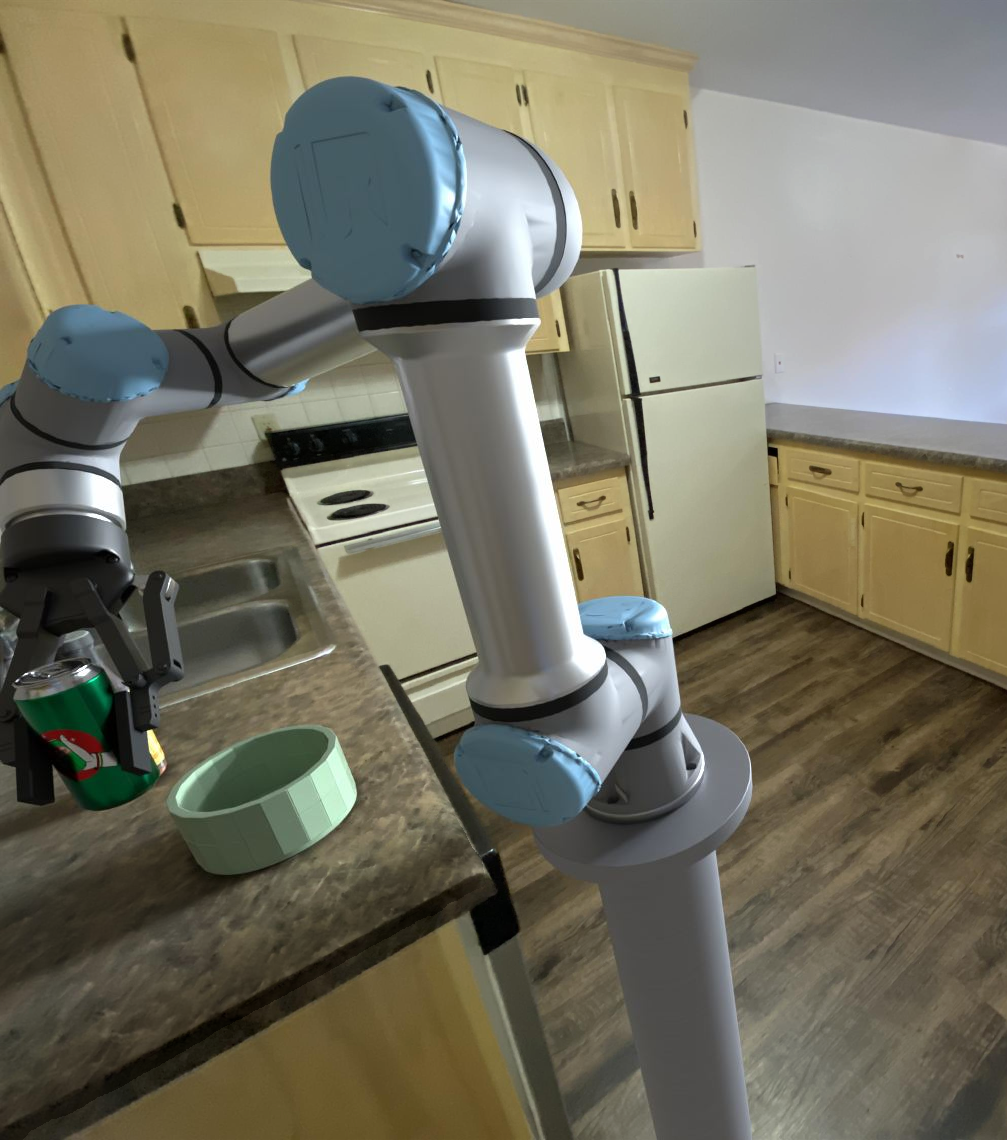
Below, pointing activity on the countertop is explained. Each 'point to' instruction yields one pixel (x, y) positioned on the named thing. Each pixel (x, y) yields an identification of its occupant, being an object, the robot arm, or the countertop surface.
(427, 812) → the countertop surface
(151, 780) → the soda can
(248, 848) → the bowl
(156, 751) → the sauce bottle
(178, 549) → the countertop surface
